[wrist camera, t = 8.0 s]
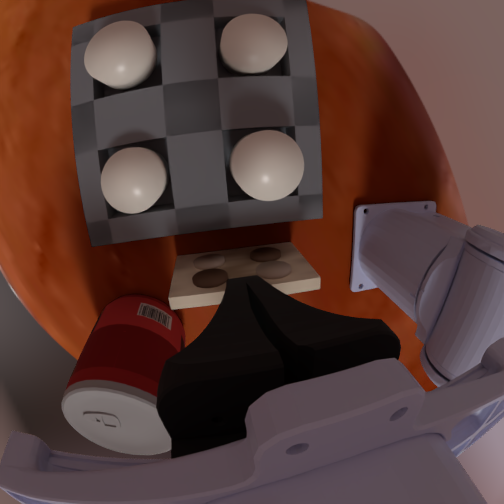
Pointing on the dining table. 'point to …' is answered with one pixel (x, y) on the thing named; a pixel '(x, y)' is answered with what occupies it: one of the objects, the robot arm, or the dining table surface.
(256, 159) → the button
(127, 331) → the canned food
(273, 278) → the pattern plaque
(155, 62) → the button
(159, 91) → the button board
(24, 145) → the dining table surface
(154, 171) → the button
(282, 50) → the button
